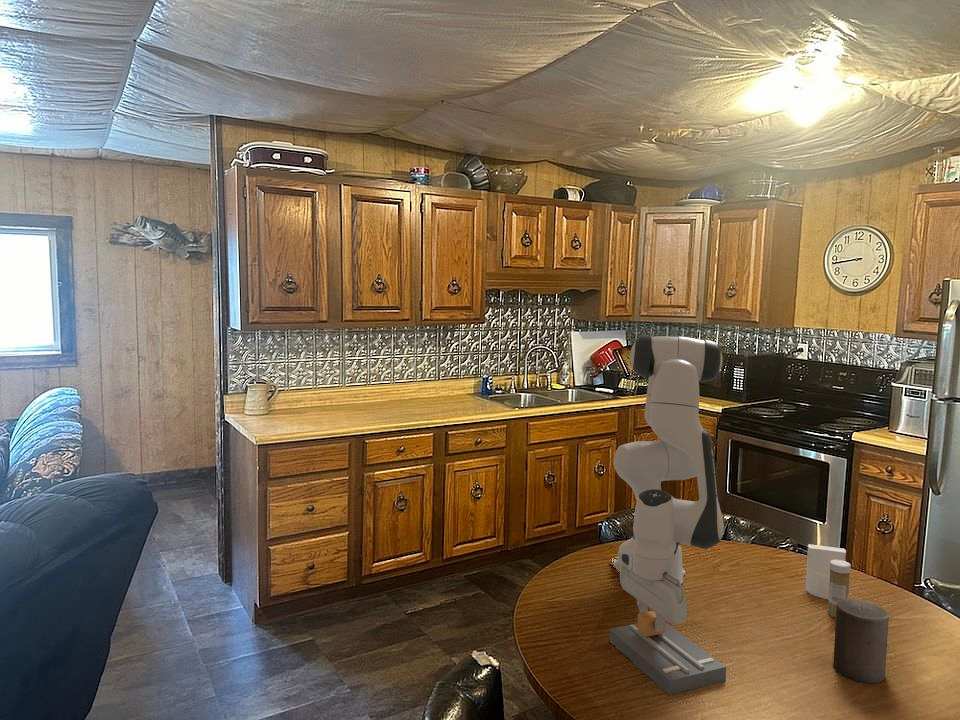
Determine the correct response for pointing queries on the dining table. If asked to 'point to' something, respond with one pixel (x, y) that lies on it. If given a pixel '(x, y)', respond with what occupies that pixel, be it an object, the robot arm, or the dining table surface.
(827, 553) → the base with upright slab
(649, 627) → the fader tab
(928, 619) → the dining table surface
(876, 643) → the pillar candle
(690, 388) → the robot arm
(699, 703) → the dining table surface
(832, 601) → the sprinkles bottle
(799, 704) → the dining table surface
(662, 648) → the fader console
